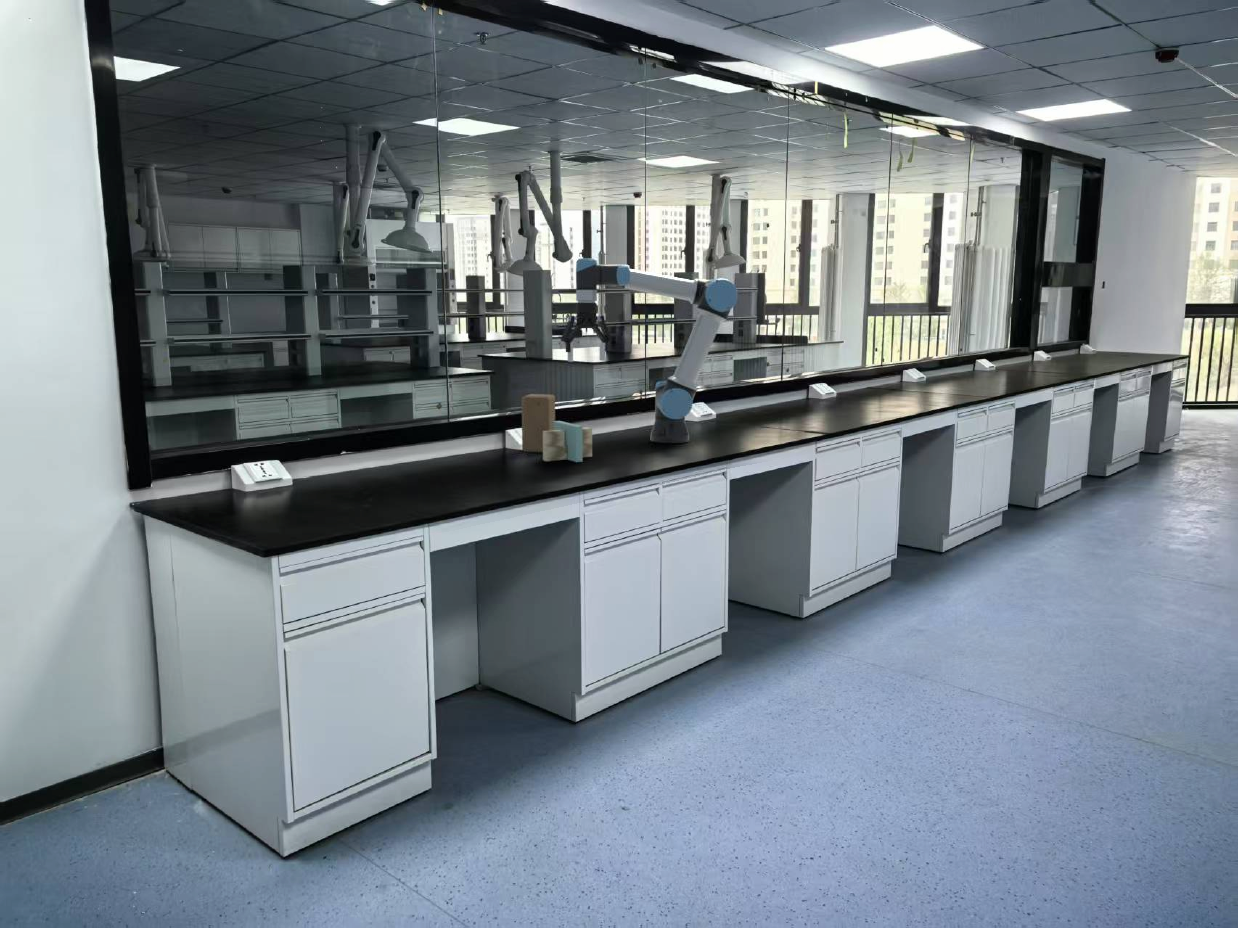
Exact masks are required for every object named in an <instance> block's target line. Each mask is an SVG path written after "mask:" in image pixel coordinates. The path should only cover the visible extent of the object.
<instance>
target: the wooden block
mask: <svg viewBox="0 0 1238 928" xmlns="http://www.w3.org/2000/svg"><path fill="white" fill-rule="evenodd" d="M554 421H556V396H555V395H554V394H543V393H542V394H541V393H540V394H539V393H530V394H527V395H524V396H522V397H521V436H522V437H521V439H522V441H521V447H522V451H523V452H524V453H542V454H543V431H550V430H554Z"/></svg>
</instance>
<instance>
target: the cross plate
mask: <svg viewBox="0 0 1238 928" xmlns="http://www.w3.org/2000/svg"><path fill="white" fill-rule="evenodd" d="M583 428H584V427H583V426H582V425H579V424H573V423H570V422H566V421H563V420H562V421H561V420H555V421H554V430H564V444H566V445H568V459H567V460H568V461H571V462H574V463H579V462H580V463H583V458H582V446H583Z"/></svg>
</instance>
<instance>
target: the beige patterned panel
mask: <svg viewBox="0 0 1238 928" xmlns="http://www.w3.org/2000/svg"><path fill="white" fill-rule="evenodd" d="M592 457H593V428H592V427H583V446H582V459H583V458H592ZM562 460H568V445H566V444H564V430H550V431H543V453H542V461H544V462H551V461H562Z"/></svg>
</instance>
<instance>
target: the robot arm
mask: <svg viewBox="0 0 1238 928" xmlns="http://www.w3.org/2000/svg"><path fill="white" fill-rule="evenodd" d="M575 265H576V266H575V289H576V291H575V296H576V297H575V300H576V304H575V311H576V315H568V319H567V324H566V325H565V328H564V330H563V333H562V335H561V337H560V341H561V342H563V343H564V344H565V352H566V353H567V362H570V363H573V362H574V343H572V341H574V339H575V338H576V337H577V335H578V334H579V332H580V330H582V329H592V330H593V332H594V334H595V335H596V336H597V337H598V338H599V340H600V342H599V361H602V362H603V361H604V362H605V361H606V352H607V350H608V343H609V342H611V341H612V340H613V339H612V336H611V334H610V331H609V328H608V327H607V324H606V322H605V316H604V315H600V314H599V315H598V316H597V312H598V304H597V301H598V286H601V287H602V286H607V287H610V288H611V287H612V288H618V289H625V290H629V291H630V290H631V291H634V292H641V293H646V294H652V295H657V296H662V297H669V298H672V299H673V298H674V299H679V300H684V301H688V302H689V303H690V304H691V305H694V306H697V307H696V310H697V312H698V315H697V318H696V320H695V323H694V326H693V328H692V331H691V332H690V335H689V338H688V340H687V341H686V345H685V347H684V349H683V351H682V355H681V356H680V358H679V361H678V363H677V366H676V369H675V371H674V373H673V375H671V376H669V377H668V378H667V379H666V381H665V380H664V381H657V382H656V384H655V388H654V391H655V395H654V396H655V402H654V403H655V405H654V408H655V409H654V413H655V414H654V415H655V416H654V423H653V426H652V429H651V432H650V441H651V442H655V443H661V444H678V443H679V444H680V443H682V444H683V443H687V442H689V441H690V434H689V430H688V427H687V423H686V417H687V416H688V415H689V414H690V413H691V411H692V408H693V403H694V402H693V401H694V398H695V395H696V393H697V391H698V389H697V386H696V382H697V380H698V377H699V376H700V373H701V370H702V368H703V367H704V364H705V361H706V359H707V356H708V354H709V352H710V349H711V348H712V345H713V342H714V340H715V338H716V335H717V333H718V330H719V329H720V325H721V324H722V323H724V322H726V321H727V319H728V317H729V315H730V312H731V310H732V309H733V308H734V307H735V306H736V303H737V301H738V297H739V295H738V289H737V286H736V285H735V284H734V283H733V282H732V281H730V280H729V279H726V278H723V277H720V278H719V277H718V278H715V279H701V278H694V279H692V280H690V279H686V278H680V277H675V276H670V275H662V274H659V273H654V272H653V273H652V272H649V271H643V270H638V269H637V270H636V269H632V268H631V267H630V265H628V264H622V263H618V264H617V263H616V264H607V263H606V264H601V263H598V260H597V259H596V258H587V257H585V258H583V257H582V258H578V259H577V260H576V263H575ZM575 322H577V323H576V324H575ZM597 322H598V324H597ZM574 324H575V325H574ZM599 326H600V328H599ZM573 327H574V328H573Z"/></svg>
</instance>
